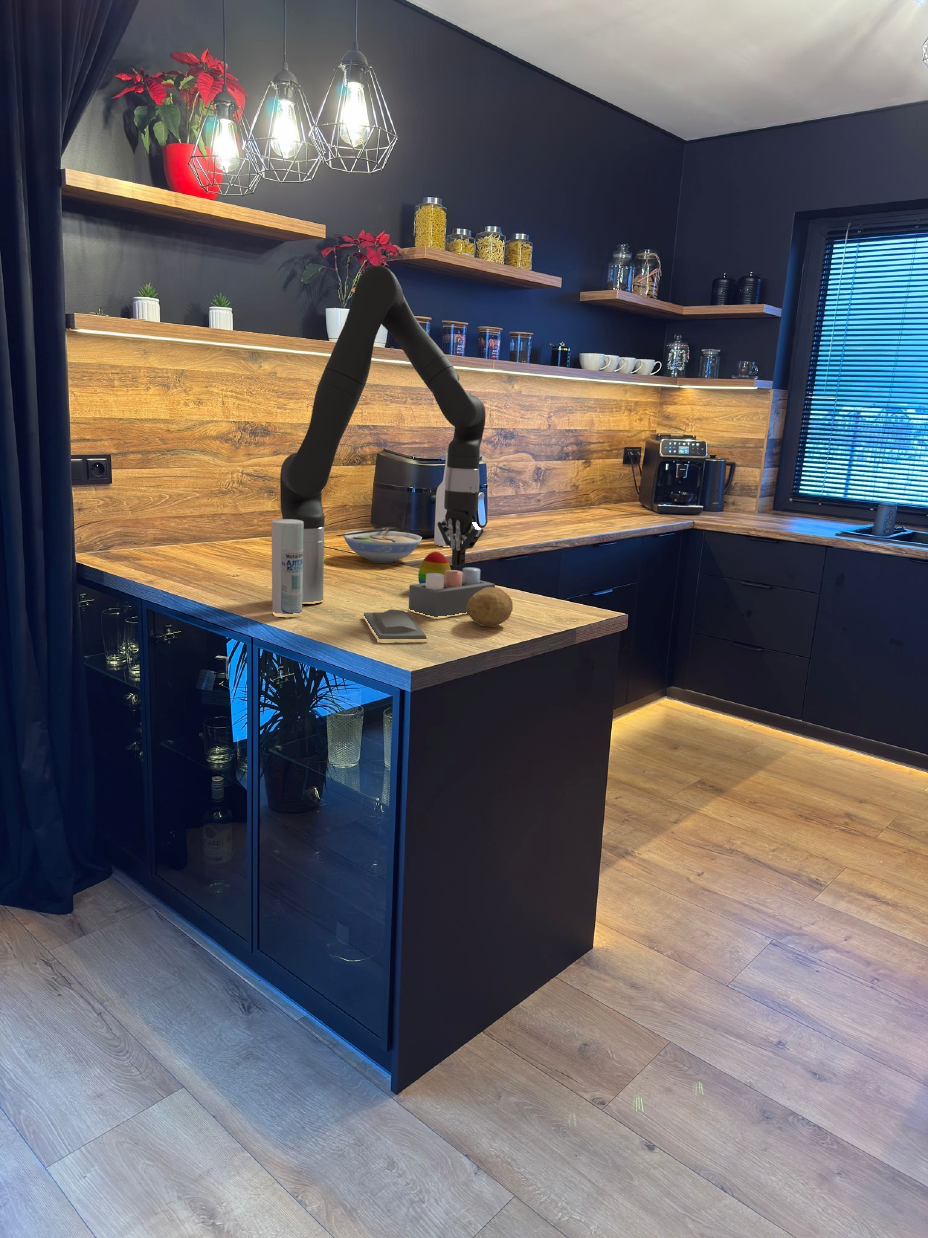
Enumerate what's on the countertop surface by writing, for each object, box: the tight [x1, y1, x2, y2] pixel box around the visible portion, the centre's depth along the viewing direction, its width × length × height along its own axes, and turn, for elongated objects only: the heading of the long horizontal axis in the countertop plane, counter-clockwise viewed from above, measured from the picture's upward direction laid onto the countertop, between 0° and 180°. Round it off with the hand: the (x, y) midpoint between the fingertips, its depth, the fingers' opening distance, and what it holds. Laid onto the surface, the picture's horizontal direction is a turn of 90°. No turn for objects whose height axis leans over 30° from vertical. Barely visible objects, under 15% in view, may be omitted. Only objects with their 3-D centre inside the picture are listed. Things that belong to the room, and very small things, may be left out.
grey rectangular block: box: [408, 579, 496, 617], centre depth 198 cm, size 18×9×6 cm, turn 134°
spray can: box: [271, 518, 304, 614], centre depth 184 cm, size 6×6×20 cm
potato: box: [466, 586, 514, 627], centre depth 187 cm, size 10×14×8 cm
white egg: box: [426, 573, 444, 590], centre depth 194 cm, size 4×4×6 cm
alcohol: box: [433, 452, 456, 546], centre depth 287 cm, size 9×9×30 cm
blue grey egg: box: [462, 567, 481, 585], centre depth 201 cm, size 4×4×6 cm
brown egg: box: [444, 569, 463, 587], centre depth 198 cm, size 4×4×6 cm
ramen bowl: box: [335, 526, 423, 564], centre depth 255 cm, size 25×23×8 cm
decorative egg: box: [417, 551, 452, 584], centre depth 217 cm, size 8×8×10 cm
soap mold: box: [363, 608, 428, 640], centre depth 179 cm, size 10×20×4 cm, turn 14°
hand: (458, 566), depth 197 cm, fingers closed
